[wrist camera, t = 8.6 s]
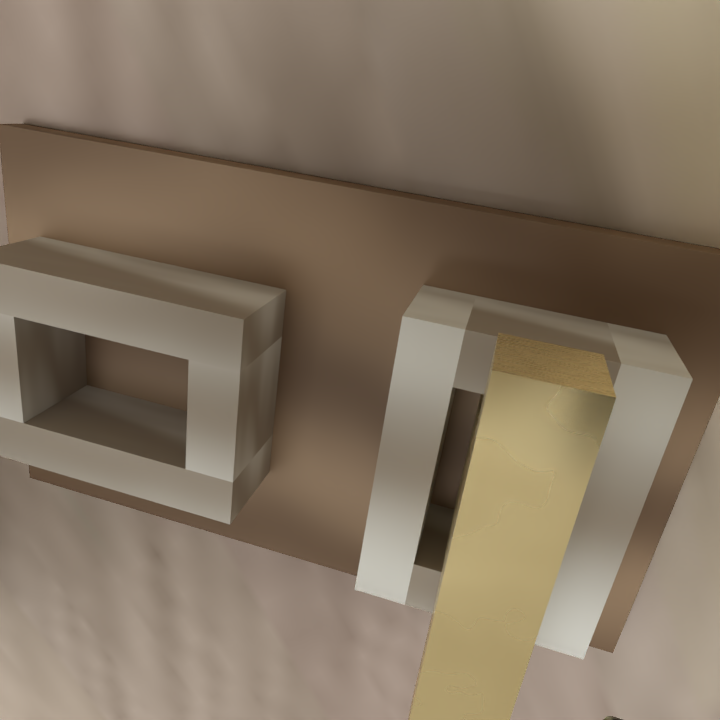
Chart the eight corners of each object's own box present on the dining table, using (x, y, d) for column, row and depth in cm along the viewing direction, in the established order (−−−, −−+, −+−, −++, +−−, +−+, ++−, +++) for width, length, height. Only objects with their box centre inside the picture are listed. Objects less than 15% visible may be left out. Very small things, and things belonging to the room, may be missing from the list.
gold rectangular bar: (585, 288, 16) (616, 397, 10) (501, 581, 20) (485, 791, 14) (508, 273, 17) (492, 370, 10) (440, 564, 21) (399, 761, 14)
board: (609, 629, 21) (624, 736, 17) (48, 464, 25) (-34, 523, 21) (760, 256, 16) (825, 297, 12) (22, 123, 20) (-92, 125, 16)
